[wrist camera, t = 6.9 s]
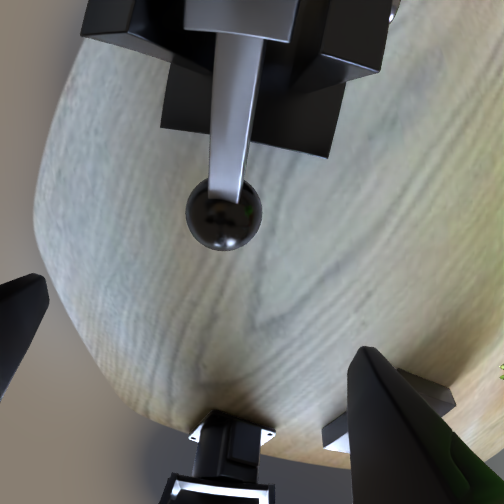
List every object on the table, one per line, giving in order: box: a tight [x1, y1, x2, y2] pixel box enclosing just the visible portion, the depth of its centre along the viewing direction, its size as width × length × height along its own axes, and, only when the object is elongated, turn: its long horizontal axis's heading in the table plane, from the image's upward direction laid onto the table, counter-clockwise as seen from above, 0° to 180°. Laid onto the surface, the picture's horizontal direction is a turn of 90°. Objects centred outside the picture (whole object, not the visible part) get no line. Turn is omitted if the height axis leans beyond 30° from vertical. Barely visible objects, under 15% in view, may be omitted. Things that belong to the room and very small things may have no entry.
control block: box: [322, 368, 456, 453], centre depth 22 cm, size 10×8×4 cm
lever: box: [183, 0, 301, 251], centre depth 8 cm, size 12×3×3 cm
